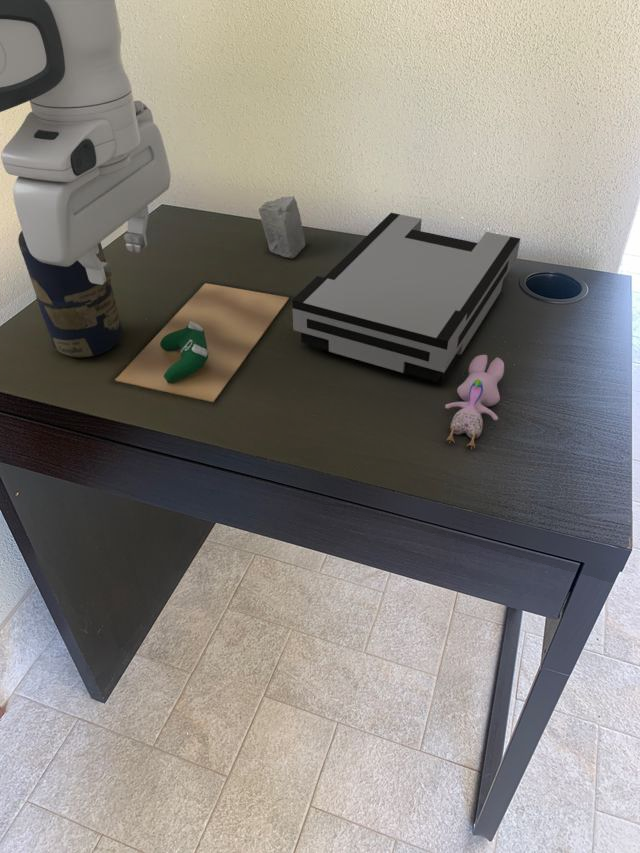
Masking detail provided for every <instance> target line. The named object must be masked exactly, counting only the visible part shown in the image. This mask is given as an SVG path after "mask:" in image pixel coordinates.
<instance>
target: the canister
mask: <svg viewBox="0 0 640 853" xmlns="http://www.w3.org/2000/svg"><path fill="white" fill-rule="evenodd" d="M17 240H18V241H17V243H18V246H19V250H20V252H21V255H22V257H23V261H24V263H25V267H26V269H27V273H28V275H29V278H30V282H31V284H32V287H33V290H34V294H35V298H36V301H37V304H38V307H39V310H40V312H41V315H42V318H43V321H44V324H45V326H46V329H47V332H48V335H49V338H50V341H51V344H52V346H53V347H54V349H55V350H56V351H58V352H59V353H60V354H62V355H64V356H67V357H71V358H88V357H89V358H90V357H95V356H97V355H101V354H103V353H105V352H108V351H109V350H110V349H112V348H113V347H115V345H117V344H118V342H119V341H120V339H121V337H122V335H123V334H122V333H123V327H122V323H121V319H120V314H119V311H118V307H117V302H116V299H115V294H114V291H113V287H112V283H111V282H112V281H111V278H109V279H108V280H107V281H106V282H105V283H104V284H103V285H100V284H94V283H91V282H90V281H89V279H88V275H87V272H86V268H85V267H84V266H83V265H82V264H81V263H80V262H79V261H78V260H77V261H76V262H75V263H73V264H72V265H70V266H68V267H65V266H57V265H51V264H46V263H42V262H40V261H39V260H37V259H36V258H35V257H33V256H32V255H31V253H30V251H29V249H28V247H27V244H26V241H25V238H24V235H23V232H22V230H21V231H20V232H19V234H18V238H17ZM98 248H99V253H98V254H96V256H97V257H98V258H99V260H100V261H101V262H106V263H107V261H106V257H105V254H104V250H103V247H102V241H101V242H100V243H99V244H98Z"/></svg>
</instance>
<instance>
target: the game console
mask: <svg viewBox="0 0 640 853" xmlns="http://www.w3.org/2000/svg"><path fill="white" fill-rule="evenodd" d="M422 220H423V219H422V218H421V217H416V216H411V215H406V214H401V213H396V212H390V213H388V215H387V216H385V218H383V220H382V221H380V223H379V224H377V225H376V226H375V227H374V229H372V230H371V231H370V232H369V234H367V235H366V236H365V237H364V238H363V239H362V240H361V241H360V242H359V243H358V244H357V245H356V246H355V247H354V248H353V249H352V250H350V252H349V253H348V254H347V255H346V256H345V257H343V258H342V260H341V261H339V262H338V263H337V264H336V265H335V266H334V267H333V268H332V269H331V270H330V271H329V272H328V273H327V274H326V275H325V276H324V277H323V276H320V275H317V276H315V277H314V279H312V280H311V281H310V282H309V283H308V284H307V285H306V286H305V287H303V289H302V290H301V291H300V292H298V294H296V295H295V296H294V297H293V298H292V299H291V306H292V328H293V331H295V332H298V333H300V343H303V344H305V345H308V346H307V347H310V348H313V349H317V350H320V351H324V352H328V353H331V354H334V355H338V356H341V357H345V358H351V359H352V360H353V359H354V360H357V361H359V362H364V363H368V364H370V365H374V366H376V367H377V366H378V367H381V368H384V369H388V370H392V371H395V372H397V373H400V374H404V375H405V376H406V375H407V376H409V377H414V378H416V379H421V380H423V381H427V382H431V383H434V384H438V385H442V384H443V383H444V382H445V380H446V378H447V376H448V375H449V373H450V371H451V370H452V368H453V367H454V365H455V364H456V362H457V360H458V359H459V357H460V356H461V355H462V354H463V352H464V351H465V349H466V348H467V346H468V345H469V343H470V342H471V339H472V338H473V336H474V335H475V333H476V332H477V330H478V328H479V327H480V325H481V324H482V323H483V320H484V319H485V317H486V316H487V315H488V312H489V311H490V309H491V308H492V306H493V305H494V303H495V301H496V300H497V299H498V297H499V295H500V294H501V292H502V288H503V283H504V280H505V278H506V277H507V275H508V273H509V272H510V270H511V269H512V267H513V266H514V264H515V263H516V261H517V259H518V254H519V249H520V244H521V238H520V237H516V236H510V235H505V234H499V233H495V232H490V231H485V233H484V234H483V236H482V237H481V238H480V240H479V241H478V242H475V241H470V240H465V239H462V238H461V239H460V238H456V237H451V236H446V235H441V234H437V233H431V232H427V231H422Z"/></svg>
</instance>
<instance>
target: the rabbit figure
mask: <svg viewBox="0 0 640 853" xmlns="http://www.w3.org/2000/svg"><path fill="white" fill-rule="evenodd" d="M487 365H488V354H479V355H476V356H475V357H474V358H473V359H472V360H471V362H470V363H469V365H468V375H467V377H466V379H465V380H464V381H463V382H462V383H461V384H460V385H459V386H458V387H457V390H456V392H457V395H458V396H459V398H460V399H461V400H462V401H454V402H450V403H447V404H445V406H444V408H445V409H447V410H450V409H451V408H460V409H459V410H458V411H457V412H456V413H455V414H454V416H453V417H452V420H451V423H450V431H451V432H450V433H449V436H448V437H447V439H446V441H449V442H448V443H449V444H451V442H453V443H455V442H456V441H455V439H454V435H457V436H458V435H462V434H466V436H467V437H468V438H470V442H469V443H468V444H466V447H468V446H471V447H470V448H471V449H470V450H473V448H474V449H475V448H476V444H475V439H477V438H479V437H480V436H481V434H482V431H483V427H484V426H483V425H484V421H483V418H482V414H486V415H488V416H490V417H491V418H492V420H493V421H498V420H499V417H498V415H497V414H496V413H495V412H494V411H492V410H491V409H490V408H489V407H492V406H494V405H495V406H496V404H498V403H499V402H500V400H501V396H500V392H499V389H498V383H499V382H500V381H501V380H502V378H503V376H504V373H505V363H504V361H503V360H502V359H501V358H500V357H495V358H494V359H493V360H492V361H491V362H490V364H489V366H488V368H487ZM486 368H487V370H486Z"/></svg>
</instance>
